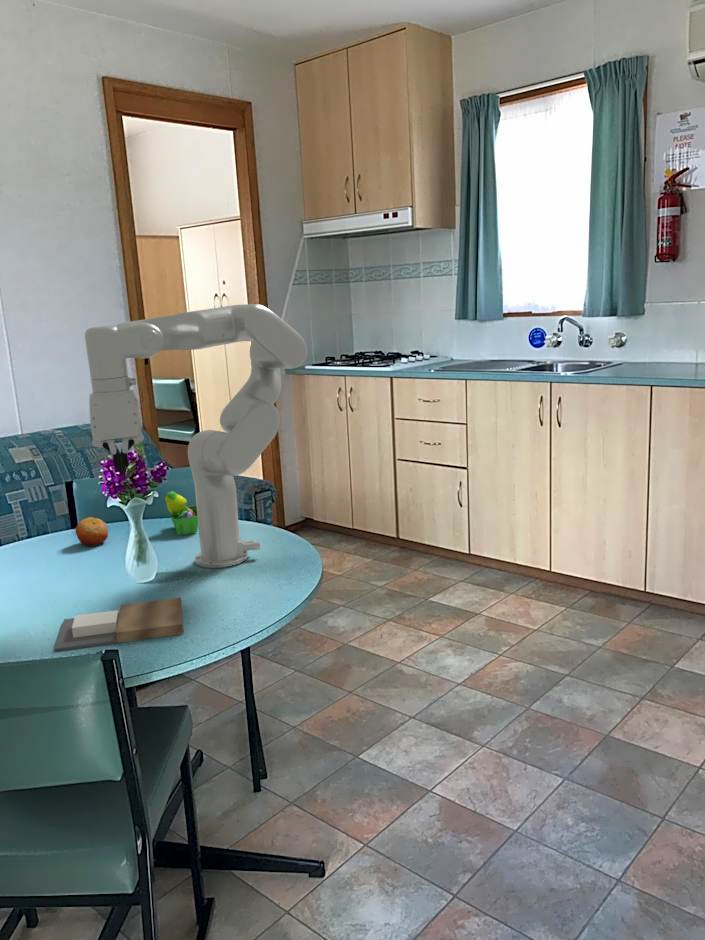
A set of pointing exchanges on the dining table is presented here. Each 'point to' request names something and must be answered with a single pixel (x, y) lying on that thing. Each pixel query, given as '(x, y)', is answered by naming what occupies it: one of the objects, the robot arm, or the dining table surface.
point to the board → (149, 620)
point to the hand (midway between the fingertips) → (122, 470)
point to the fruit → (91, 531)
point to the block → (95, 623)
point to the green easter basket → (182, 514)
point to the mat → (81, 638)
